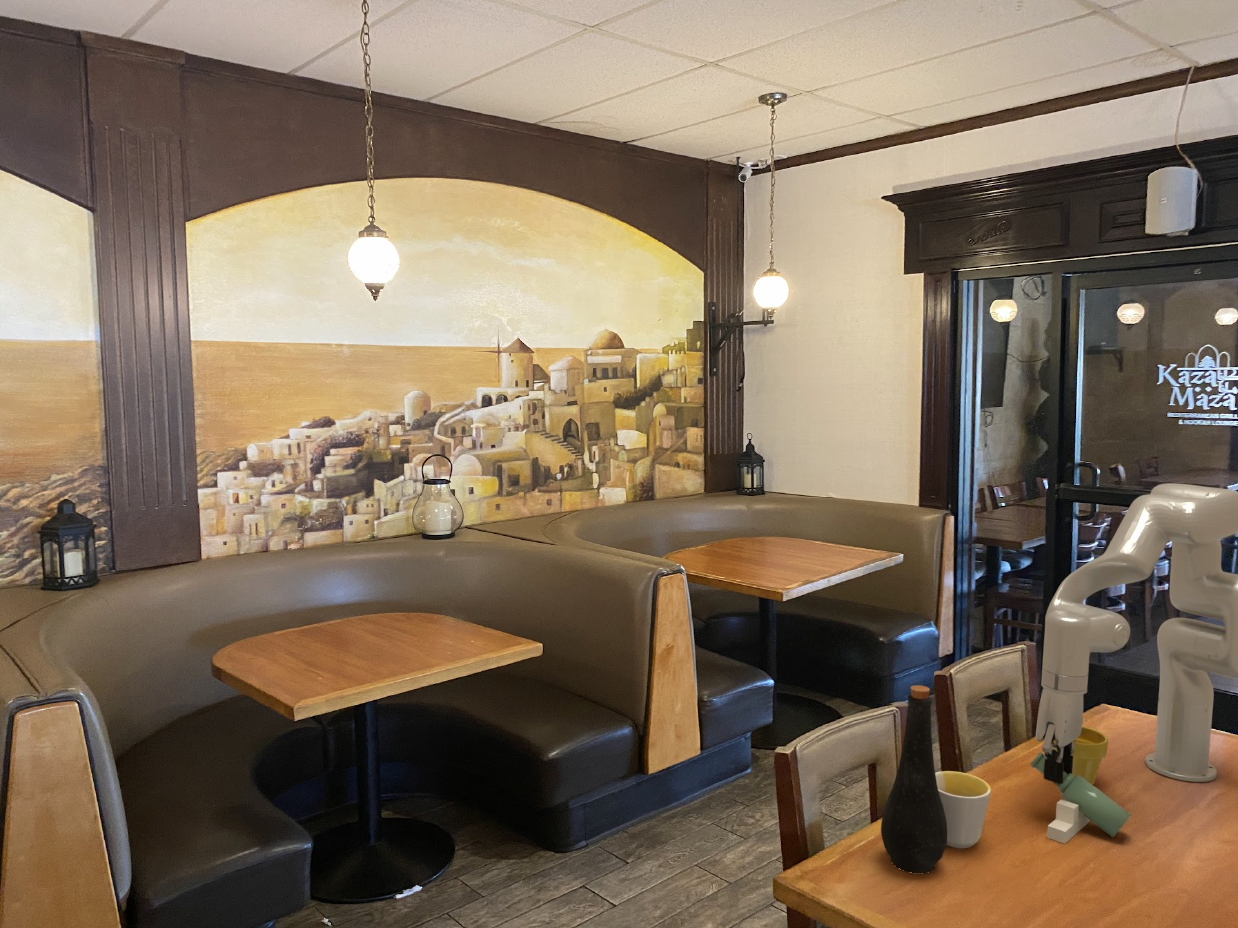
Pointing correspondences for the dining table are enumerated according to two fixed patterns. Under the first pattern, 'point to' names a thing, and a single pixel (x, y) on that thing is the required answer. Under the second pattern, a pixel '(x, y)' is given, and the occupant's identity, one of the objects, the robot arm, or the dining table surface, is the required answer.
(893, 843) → the bottle
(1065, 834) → the u rest
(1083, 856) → the dining table surface
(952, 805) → the mug
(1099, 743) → the plant pot
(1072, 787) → the green bottle
